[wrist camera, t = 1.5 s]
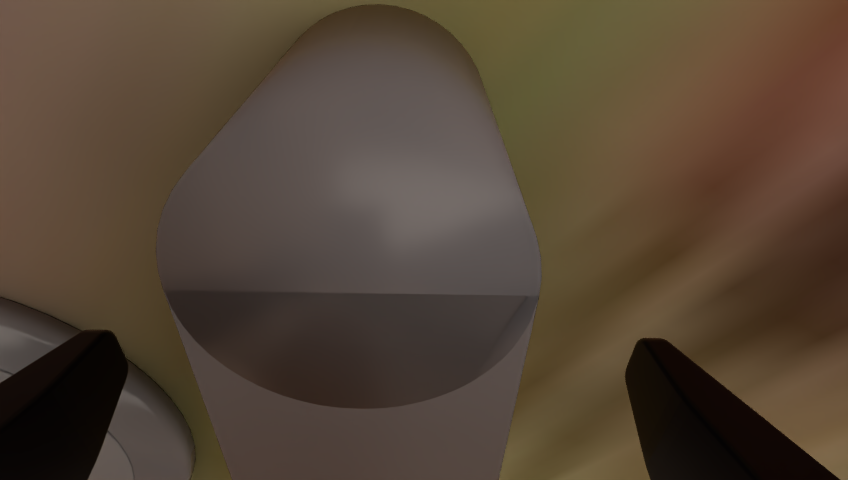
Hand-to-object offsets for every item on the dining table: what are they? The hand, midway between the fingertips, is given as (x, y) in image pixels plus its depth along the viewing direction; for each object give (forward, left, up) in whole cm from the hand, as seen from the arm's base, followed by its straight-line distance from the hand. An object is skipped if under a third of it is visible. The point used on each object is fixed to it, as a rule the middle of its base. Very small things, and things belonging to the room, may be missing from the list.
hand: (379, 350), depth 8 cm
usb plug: (0, +1, -3) cm, 3 cm away
